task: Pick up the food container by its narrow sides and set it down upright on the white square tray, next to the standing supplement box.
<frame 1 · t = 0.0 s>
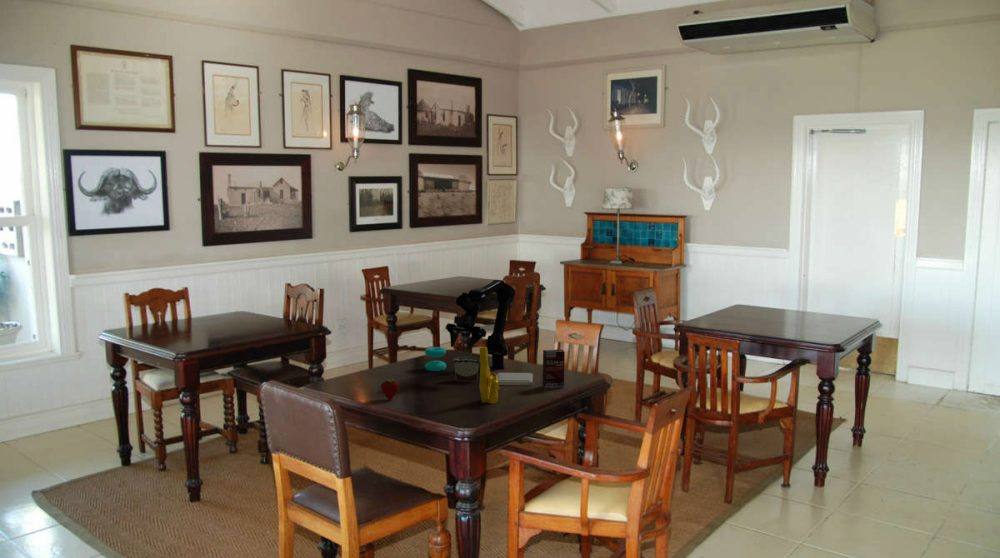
hand: (460, 347, 347), 15 cm above the table, tool tilted 35°, fingers open, 9 cm apart
supplement box: (553, 387, 338), on the table
yellow tall lumpy piece: (488, 402, 315), on the table
white square tray: (514, 380, 349), on the table
strawberry: (390, 400, 318), on the table
donuts: (435, 369, 372), on the table
food container: (467, 380, 351), on the table
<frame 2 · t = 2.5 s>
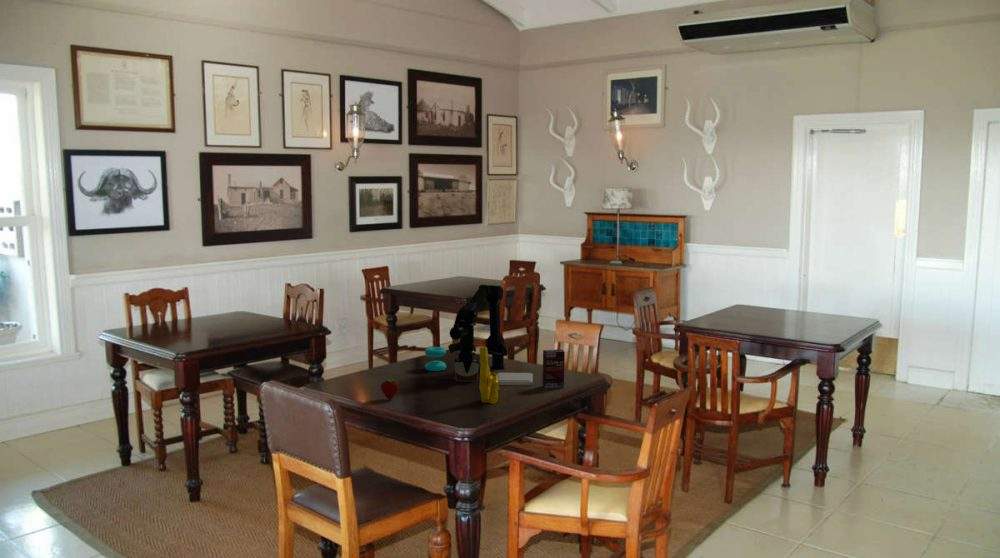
hand: (467, 370, 351), 4 cm above the table, tool pointing down, fingers open, 6 cm apart
food container: (467, 380, 351), on the table, touching gripper
everything else where it was.
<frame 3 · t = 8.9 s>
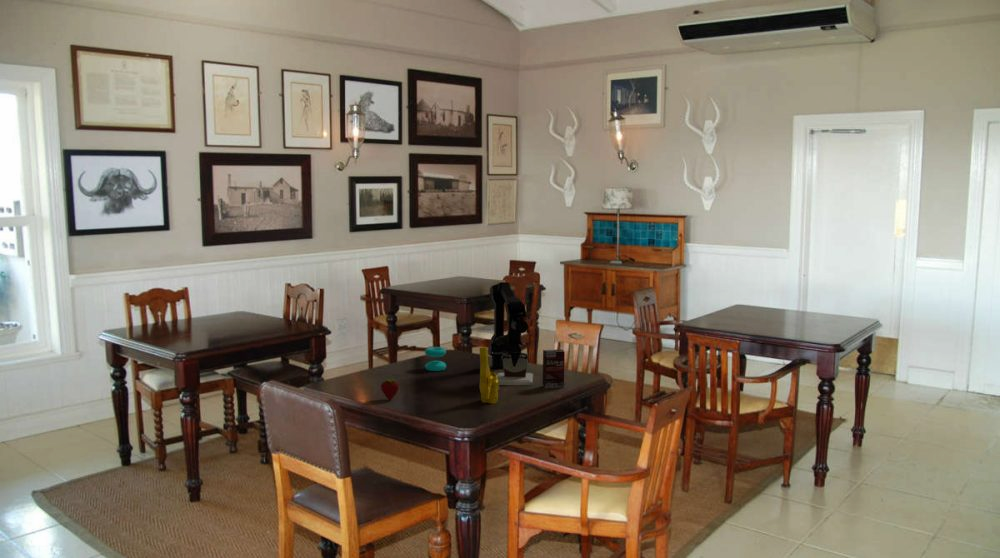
hand: (514, 364, 348), 7 cm above the table, tool pointing down, fingers open, 8 cm apart
food container: (515, 375, 350), point 2 cm above the table, touching gripper, white square tray
everything else where it was.
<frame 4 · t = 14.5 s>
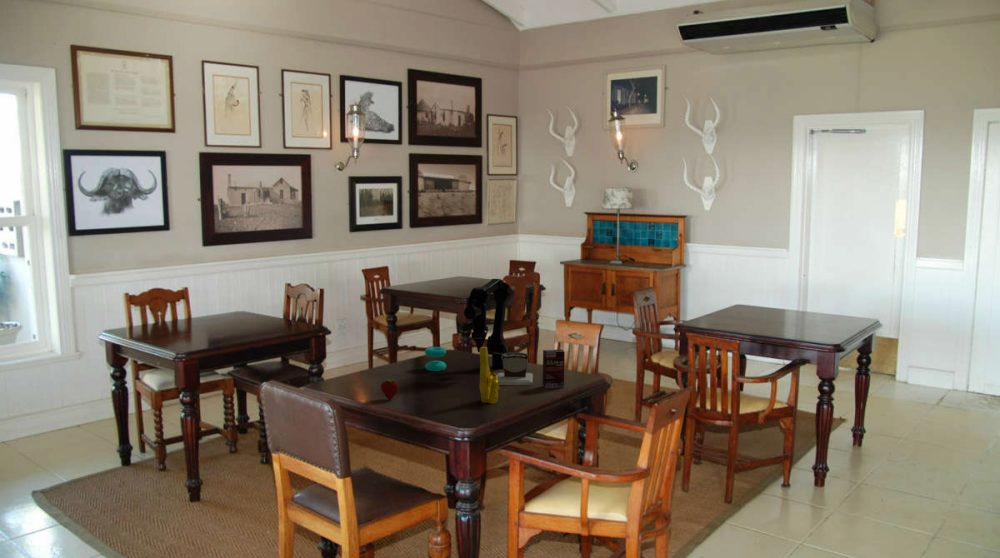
hand: (479, 350, 356), 12 cm above the table, tool pointing down, fingers open, 9 cm apart
food container: (515, 376, 350), point 2 cm above the table, touching white square tray
everything else where it was.
at the end: food container inside the target area on the white square tray (1.4 cm from its centre), point 1.8 cm above the white square tray's base; food container tilted 0°; the gripper is holding nothing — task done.
